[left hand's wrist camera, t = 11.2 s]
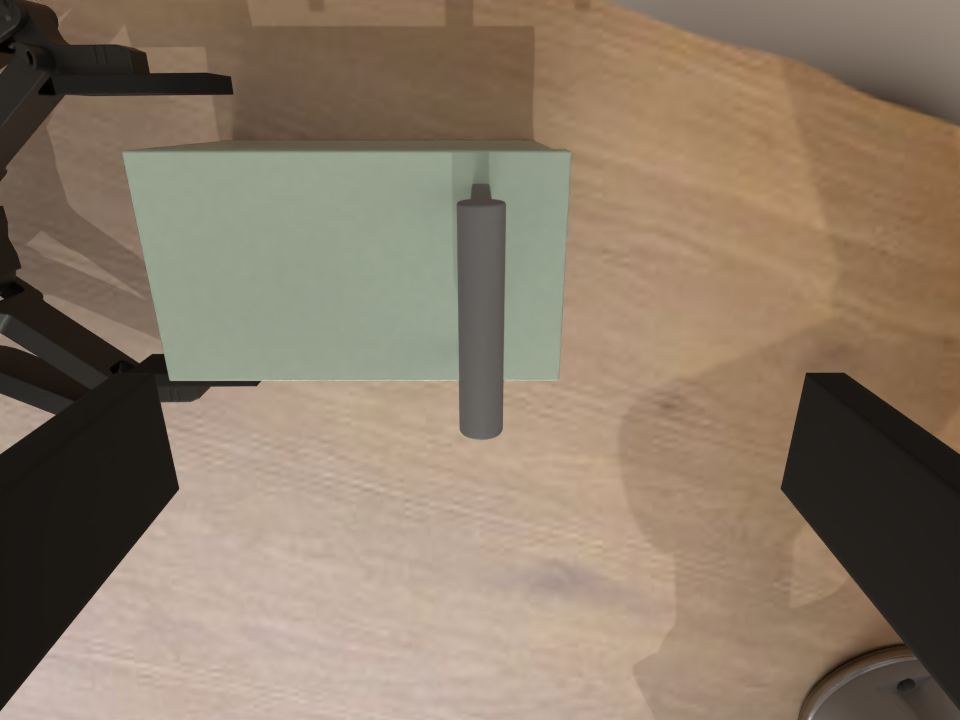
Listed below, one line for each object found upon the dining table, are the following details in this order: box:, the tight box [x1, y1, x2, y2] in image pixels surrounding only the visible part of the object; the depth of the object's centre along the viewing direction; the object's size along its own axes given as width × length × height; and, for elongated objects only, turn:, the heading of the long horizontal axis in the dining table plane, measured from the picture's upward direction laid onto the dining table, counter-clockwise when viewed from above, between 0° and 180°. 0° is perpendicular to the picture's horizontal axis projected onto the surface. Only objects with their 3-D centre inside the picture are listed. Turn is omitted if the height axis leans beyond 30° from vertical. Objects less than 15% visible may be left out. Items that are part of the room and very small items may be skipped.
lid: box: [122, 149, 571, 440], centre depth 22 cm, size 17×10×8 cm, turn 90°
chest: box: [147, 140, 551, 149], centre depth 31 cm, size 17×10×10 cm, turn 90°
